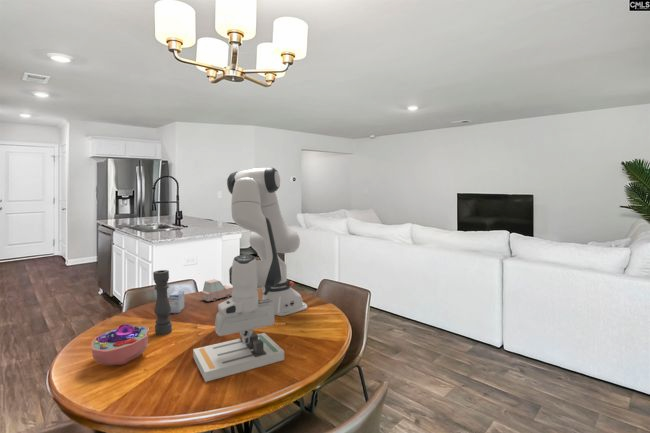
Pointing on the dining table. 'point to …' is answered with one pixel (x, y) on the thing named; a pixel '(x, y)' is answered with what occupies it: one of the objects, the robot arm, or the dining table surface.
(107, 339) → the cell model
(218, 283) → the toy car
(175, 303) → the medicine box
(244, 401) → the dining table surface
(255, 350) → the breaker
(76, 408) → the dining table surface
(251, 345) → the breaker
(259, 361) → the panel
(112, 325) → the dining table surface
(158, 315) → the candle holder
